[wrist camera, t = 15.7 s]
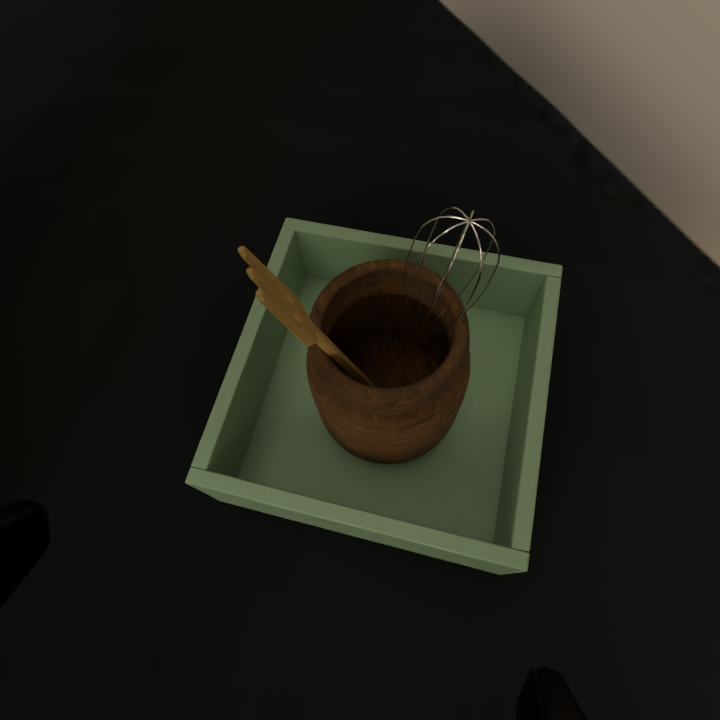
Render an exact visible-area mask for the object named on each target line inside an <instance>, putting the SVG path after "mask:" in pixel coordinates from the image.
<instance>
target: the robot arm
mask: <svg viewBox="0 0 720 720" xmlns="http://www.w3.org/2000/svg"><path fill="white" fill-rule="evenodd" d="M49 541H50V533H49V521H48V511H47V508H46V507H45V506H44V505H42V504H39V503H36V502H33V501H29V500H21V501H17V502H14V503H11V504H8V505H5V506H2V507H0V608H1V607H2V605H3V604H4V603H5V602H6V600H7V599H8V598H9V597H10V595H11V594H12V593H13V592H14V590H15V589H16V588H17V587H18V585H19V584H20V583H21V582H22V580H23V579H24V578H25V577H26V575H27V574H28V573H29V572H30V570H31V569H32V568H33V567H34V565H35V564H36V563H37V562H38V560H39V559H40V558H41V557H42V555H43V554H44V553H45V551H46V549H47V547H48V545H49ZM516 720H586V718H585V716H584V714H583V712H582V711H581V709H580V707H579V705H578V703H577V702H576V700H575V698H574V696H573V694H572V693H571V691H570V689H569V687H568V685H567V684H566V682H565V680H564V678H563V677H562V676H561V674H560V673H558V672H557V671H554V670H551V669H548V668H545V667H542V666H539V665H534V666H533V667H532V668H531V670H530V672H529V674H528V676H527V679H526V681H525V683H524V686H523V688H522V691H521V693H520V695H519V698H518V702H517V707H516Z"/></svg>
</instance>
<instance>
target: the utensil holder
mask: <svg viewBox="0 0 720 720" xmlns="http://www.w3.org/2000/svg"><path fill="white" fill-rule="evenodd" d="M450 208H453V209H456V210H458V211H460V212H461V213H462V214H463V215H464V216H465V217H466V219H464V218H461V217H456V216H441V217H439V216H440V215H441V214H442V213H443V212H444V211H445V210H447V209H450ZM474 210H475V209H474V208H473V210H472V212H471V214H470V216H469V218H468V217H467V216H466V214H465V213H464V212H463V211H461V210H460V209H459V208H457V207H447V208H445V209H443V210H442V211H441V212H440V213H439V215H438V217H437V218H434V219H432V220H430V221H428V222H426V223H425V224H424V225H422V226H421V227H420V229H419V230H418V231H417V233H416V235H415V237H414V240H413V243H412V245H411V248H410V250H409V253H408V256H407V259H406V261H404V260H397V259H380V260H373V261H368V262H364V263H361V264H358V265H355V266H353V267H351V268H349V269H347V270H345V271H343V272H342V273H340V274H339V275H337V276H336V277H335V278H334V279H332V280H331V281H330V282H329V283H328V284H327V285H326V286H325V287H324V289H323V290H322V291H321V293H320V294H319V295H318V297H317V299H316V301H315V303H314V305H313V307H312V310H311V313H310V317H309V316H308V314H307V313H306V311H305V309H304V307H303V306H302V304H301V302H300V300H299V299H298V298H297V296H296V295H295V294H294V293H293V292H292V291H291V290H290V289H289V288H288V287H287V286H286V285H285V284H284V283H282V282H281V281H280V280H279V279H278V278H277V277H276V276H275V275H274V274H273V273H272V272H271V271H270V270H269V269H268V268H267V267H266V266H265V265H264V264H262V263H261V262H260V261H259V260H258V259H257V258H256V257H255V256H254V255H253V254H252V253H251V252H250V251H249V250H248V249H247V248H246V247H245V246H241V247H239V248H238V252H239V254H240V255H241V257H242V258H243V259H244V260H245V261H246V263H247V264H248V265H249V266H250V268H248V269H247V274H248V276H249V277H250V279H251V280H252V281H253V282H254V283H255V284H256V285H257V286H258V287H259V288H260V289H259V290H257V291H256V296H257V298H258V300H259V301H260V302H261V303H262V304H263V305H264V306H265V307H266V308H267V309H268V310H269V311H270V312H271V313H272V314H273V315H274V316H275V317H276V318H277V319H278V320H279V321H280V322H281V323H282V324H283V325H284V326H285V327H286V328H287V329H288V330H289V331H290V332H292V333H293V334H294V335H295V336H296V337H297V338H298V339H299V340H300V341H301V342H302V343H303V344H304V345H305V346H307V357H306V370H307V378H308V383H309V387H310V390H311V394H312V397H313V399H314V402H315V405H316V407H317V410H318V412H319V415H320V417H321V419H322V421H323V423H324V425H325V427H326V429H327V430H328V432H329V433H330V435H331V436H332V437H333V438H334V440H335V441H336V442H337V443H338V444H339V445H340V446H342V447H343V448H344V449H345V450H347V451H348V452H349V453H351V454H353V455H354V456H356V457H358V458H361V459H363V460H366V461H369V462H374V463H380V464H397V463H403V462H407V461H411V460H413V459H416V458H418V457H420V456H422V455H424V454H426V453H427V452H429V451H430V450H431V449H433V448H434V447H435V446H436V445H437V444H438V443H439V442H440V441H441V440H442V439H443V438H444V437H445V435H446V434H447V433H448V431H449V429H450V428H451V426H452V424H453V422H454V420H455V418H456V416H457V414H458V411H459V409H460V406H461V404H462V401H463V399H464V396H465V393H466V389H467V386H468V381H469V376H470V363H471V362H470V351H469V346H470V333H469V323H468V317H467V313H466V311H467V310H469V309H470V308H471V307H472V306H473V305H475V304H476V303H477V301H478V300H479V299H480V298H481V297H482V295H483V294H484V292H485V291H486V289H487V287H488V285H489V283H490V282H491V280H492V278H493V276H494V274H495V272H496V270H497V267H498V264H499V261H500V251H499V247H498V244H497V242H496V240H495V238H494V237H495V232H496V230H495V226H494V224H493V222H492V221H490V220H488V219H481V218H480V219H473V220H471V218H472V216H473V213H474ZM441 218H456V219H461V220H464V221H465V222H462V223H459V224H457V225H455V226H453V227H451V228H449V229H447V230H446V231H444V232H443V233H441V234H440V235H439V236H438V237H436V238H435V239H434V240H433V241H432V242H431V243H430V244H429V245H428V243H429V240H430V237H431V235H432V232H433V230H434V227H435V225H436V223H437V220H438V219H441ZM434 220H436V221H435V223H434V226H433V228H432V231H431V233H430V236H429V238H428V241H427V244H426V247H425V250H424V251H423V253H422V254H421V256H420V258H419V260H418V262H417V264H416V263H413V262H409V261H408V258H409V255H410V252H411V250H412V247H413V245H414V242H415V239H416V237H417V235H418V233H419V232H420V230H421V229H422V228H423V227H424V226H425V225H426V224H428V223H430V222H432V221H434ZM479 220H484V221H488V222H490V223H491V224H492V226H493V229H494V234H493V236H492V234H491V233H490V232H489V231H488V230H486V229H485V228H484V227H482V226H481V225H479V224H477V223H475V222H473V221H479ZM465 223H466V225H465V227H464V230H463V232H462V234H461V237H460V239H459V241H458V243H457V246H456V248H455V250H454V253H453V255H452V257H451V260H450V262H449V264H448V267H447V269H446V271H445V274H444V276H443V278H442V277H441V276H440V275H438V274H437V273H435V272H434V271H432V270H430V269H428V268H426V267H424V266H423V261H424V256H425V252H426V250H427V249H428V248H429V247H430V246H431V245H432V244H433V243H434V242H435V241H436V240H437V239H438V238H439V237H441V236H442V235H443V234H445V233H446V232H448V231H449V230H451V229H453V228H455V227H457V226H459V225H462V224H465ZM469 223H470V225H471V227H472V228H473V231H474V233H475V235H476V238H477V241H478V245H479V250H480V265H479V267H478V269H477V271H476V272H475V274H474V275H473V277H472V278H471V280H470V281H469V282H468V284H467V285H466V286H465V287H464V289H463V290H462V291H461V292H460V293H459V294H457V293H456V291H455V290H454V289H453V287H452V286H451V285H450V284H449V283H448V282H447V281H446V279H447V276H448V274H449V272H450V269H451V267H452V265H453V262H454V260H455V258H456V255H457V253H458V251H459V248H460V246H461V243H462V241H463V238H464V236H465V234H466V231H467V229H468V226H469ZM473 224H475V225H477V226H478V227H480V228H482V229H483V230H484V231H486V232H487V233H488V234H489V235H490V236H491V237H492V241H491V243H490V245H489V247H488V249H487V252H486V254H485V256H484V258H483V260H482V251H481V245H480V241H479V238H478V235H477V232H476V230H475V228H474V226H473ZM460 240H461V241H460ZM493 240H494V242H495V244H496V247H497V251H498V262H497V265H496V267H495V270H494V272H493V274H492V276H491V278H490V280H489V282H488V284H487V286H486V287H485V289H484V291H483V292H482V294H481V295H480V297H479V298H478V299H477V300H476V301H475V302H474V303H473V304H472V305H471V306H470V307H469V308H468V309H466V308H467V306H468V304H469V302H470V300H471V298H472V296H473V294H474V292H475V290H476V288H477V285H478V283H479V280H480V277H481V271H482V263H483V261H484V259H485V257H486V255H487V253H488V251H489V249H490V247H491V245H492V243H493ZM458 245H459V246H458ZM457 247H458V248H457ZM456 250H457V251H456ZM455 252H456V253H455ZM454 254H455V255H454ZM422 256H423V258H422ZM453 256H454V258H453ZM421 258H422V264H421V265H419V262H420V260H421ZM452 259H453V260H452ZM451 261H452V262H451ZM450 263H451V265H450ZM449 266H450V267H449ZM448 268H449V269H448ZM479 269H480V273H479V277H478V281H477V283H476V286H475V288H474V290H473V292H472V294H471V296H470V298H469V300H468V302H467V304H466V306H465V307H464V305H463V303H462V301H461V299H460V297H459V295H460V294H461V293H462V292H463V291H464V290H465V288H466V287H467V286H468V285H469V284H470V282H471V281H472V280H473V278H474V277H475V275H476V274H477V272H478V270H479ZM447 270H448V272H447ZM446 273H447V274H446ZM445 275H446V276H445ZM444 277H445V279H444ZM465 309H466V310H465Z"/></svg>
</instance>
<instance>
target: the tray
mask: <svg viewBox="0 0 720 720" xmlns="http://www.w3.org/2000/svg"><path fill="white" fill-rule="evenodd" d="M412 243H413V239H407V238H401V237H395V236H390V235H384V234H378V233H373V232H367V231H361V230H355V229H350V228H344V227H338V226H332V225H327V224H321V223H315V222H309V221H304V220H298V219H292V218H286V219H285V222H284V224H283V227H282V229H281V232H280V234H279V237H278V240H277V242H276V245H275V247H274V250H273V253H272V255H271V258H270V260H269V263H268V266H267V268H268V269H269V270H270V271H271V272H272V273H273V274H274V275H275V276H276V277H277V278H278V279H279V280H280V281H281V282H282V283H284V284H285V285H286V286H287V287H288V288H289V289H290V290H291V291H292V292H293V293H294V294H295V295H296V296H297V298H298V299H299V300H300V302H301V304H302V306H303V307H304V309H305V311H306V313H307V314H308V316H309V317H310V313H311V310H312V307H313V305H314V303H315V301H316V299H317V297H318V295H319V294H320V293H321V291H322V290H323V289H324V287H325V286H326V285H327V284H328V283H329V282H330V281H331V280H332V279H334V278H335V277H336V276H337V275H339V274H340V273H342V272H343V271H345V270H347V269H349V268H351V267H353V266H355V265H358V264H361V263H364V262H368V261H373V260H380V259H397V260H404V261H406V259H407V256H408V253H409V250H410V248H411V245H412ZM426 244H427V242H424V241H418V240H415V242H414V245H413V247H412V250H411V252H410V255H409V258H408V261H409V262H413V263H416V264H417V262H418V260H419V258H420V256H421V254H422V253H423V251H424V250H425V247H426ZM429 244H430V242H429V243H428V245H429ZM455 248H456V247H453V246H447V245H441V244H436V243H433V244H432V245H431V246H430V247H429V248H428V249H427V250H426V252H425V256H424V261H423V266H424V267H426V268H428V269H430V270H432V271H434V272H435V273H437V274H438V275H440V276H441V277H442V278H443V276H444V274H445V271H446V269H447V267H448V264H449V262H450V260H451V257H452V255H453V253H454V250H455ZM457 248H458V247H457ZM456 251H457V250H456ZM455 253H456V252H455ZM485 254H486V252H482V260H483V258H484V256H485ZM454 255H455V254H454ZM422 258H423V256H422ZM422 258H421V260H420V262H419V265H421V264H422ZM453 258H454V256H453ZM452 260H453V259H452ZM451 262H452V261H451ZM497 262H498V254H493V253H487V255H486V257H485V259H484V261H483V263H482V271H481V277H480V280H479V283H478V285H477V288H476V290H475V292H474V294H473V296H472V298H471V300H470V302H469V304H468V306H467V308H466V309H468V308H469V307H470V306H471V305H472V304H473V303H474V302H475V301H476V300H477V299H478V298H479V297H480V295H481V294H482V292H483V291H484V289H485V287H486V286H487V284H488V282H489V280H490V278H491V276H492V274H493V272H494V270H495V267H496V265H497ZM450 265H451V263H450ZM479 265H480V251H476V250H470V249H464V248H459V251H458V253H457V255H456V258H455V260H454V262H453V265H452V267H451V269H450V272H449V274H448V276H447V279H446V281H447V282H448V283H449V284H450V285H451V286H452V287H453V289H454V290H455V291H456V293H457V294H459V293H460V292H461V291H462V290H463V289H464V287H465V286H466V285H467V284H468V282H469V281H470V280H471V278H472V277H473V275H474V274H475V272H476V271H477V269H478V267H479ZM449 267H450V266H449ZM562 268H563V267H562V266H561V265H556V264H550V263H545V262H539V261H533V260H527V259H522V258H516V257H510V256H505V255H500V261H499V264H498V267H497V270H496V272H495V274H494V276H493V278H492V280H491V282H490V283H489V285H488V287H487V289H486V291H485V292H484V294H483V295H482V297H481V298H480V299H479V300H478V301H477V303H476V304H475V305H473V306H472V307H471V308H470V309H469V310H467V311H466V313H467V317H468V323H469V333H470V346H469V351H470V362H471V363H470V376H469V381H468V386H467V389H466V393H465V396H464V399H463V401H462V404H461V406H460V409H459V411H458V414H457V416H456V418H455V420H454V422H453V424H452V426H451V428H450V429H449V431H448V433H447V434H446V435H445V437H444V438H443V439H442V440H441V441H440V442H439V443H438V444H437V445H436V446H435V447H434V448H433V449H431V450H430V451H429V452H427V453H426V454H424V455H422V456H420V457H418V458H416V459H413V460H411V461H407V462H403V463H397V464H380V463H374V462H369V461H366V460H363V459H361V458H358V457H356V456H354V455H353V454H351V453H349V452H348V451H347V450H345V449H344V448H343V447H342V446H340V445H339V444H338V443H337V442H336V441H335V440H334V438H333V437H332V436H331V435H330V433H329V432H328V430H327V429H326V427H325V425H324V423H323V421H322V419H321V417H320V415H319V412H318V410H317V407H316V405H315V402H314V399H313V397H312V394H311V390H310V387H309V383H308V378H307V370H306V357H307V346H305V345H304V344H303V343H302V342H301V341H300V340H299V339H298V338H297V337H296V336H295V335H294V334H293V333H292V332H290V331H289V330H288V329H287V328H286V327H285V326H284V325H283V324H282V323H281V322H280V321H279V320H278V319H277V318H276V317H275V316H274V315H273V314H272V313H271V312H270V311H269V310H268V309H267V308H266V307H265V306H264V305H263V304H262V303H261V302H260V301H259V300H258V298H257V296H256V297H255V300H254V302H253V305H252V307H251V310H250V313H249V315H248V318H247V320H246V323H245V326H244V328H243V331H242V334H241V336H240V339H239V341H238V344H237V347H236V349H235V352H234V354H233V357H232V360H231V362H230V365H229V367H228V370H227V373H226V375H225V378H224V381H223V383H222V386H221V388H220V391H219V394H218V396H217V399H216V401H215V404H214V407H213V409H212V412H211V414H210V417H209V420H208V422H207V425H206V428H205V430H204V433H203V435H202V438H201V441H200V443H199V446H198V448H197V451H196V454H195V456H194V459H193V461H192V464H191V466H192V467H191V468H190V470H189V472H188V475H187V478H186V480H185V483H186V484H188V485H190V486H192V487H194V488H196V489H198V490H200V491H202V492H204V493H206V494H208V495H210V496H212V497H214V498H216V499H217V500H219V501H222V502H226V503H230V504H233V505H237V506H241V507H245V508H248V509H252V510H256V511H260V512H264V513H267V514H271V515H275V516H279V517H283V518H286V519H290V520H294V521H298V522H302V523H305V524H309V525H313V526H317V527H321V528H324V529H328V530H332V531H336V532H340V533H343V534H347V535H351V536H355V537H359V538H362V539H366V540H370V541H374V542H378V543H381V544H385V545H389V546H393V547H397V548H400V549H404V550H408V551H412V552H415V553H419V554H423V555H427V556H431V557H434V558H438V559H442V560H446V561H450V562H453V563H457V564H461V565H465V566H469V567H472V568H476V569H480V570H484V571H488V572H491V573H495V574H499V575H504V574H510V573H519V572H527V570H528V563H529V553H528V552H529V551H530V546H531V537H532V528H533V520H534V511H535V502H536V494H537V485H538V476H539V468H540V459H541V450H542V442H543V433H544V424H545V416H546V407H547V398H548V390H549V381H550V372H551V364H552V355H553V346H554V338H555V329H556V320H557V311H558V303H559V294H560V285H561V277H562ZM448 269H449V268H448ZM447 272H448V270H447ZM479 273H480V269H479V270H478V272H477V274H476V275H475V277H474V278H473V280H472V281H471V282H470V284H469V285H468V286H467V287H466V288H465V290H464V291H463V292H462V293H461V294H460V295H459V297H460V299H461V301H462V303H463V305H464V307H465V306H466V304H467V302H468V300H469V298H470V296H471V294H472V292H473V290H474V288H475V286H476V283H477V281H478V277H479ZM446 274H447V273H446ZM445 276H446V275H445ZM444 279H445V277H444ZM259 289H260V288H259ZM259 289H258V290H259ZM466 309H465V310H466Z"/></svg>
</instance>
